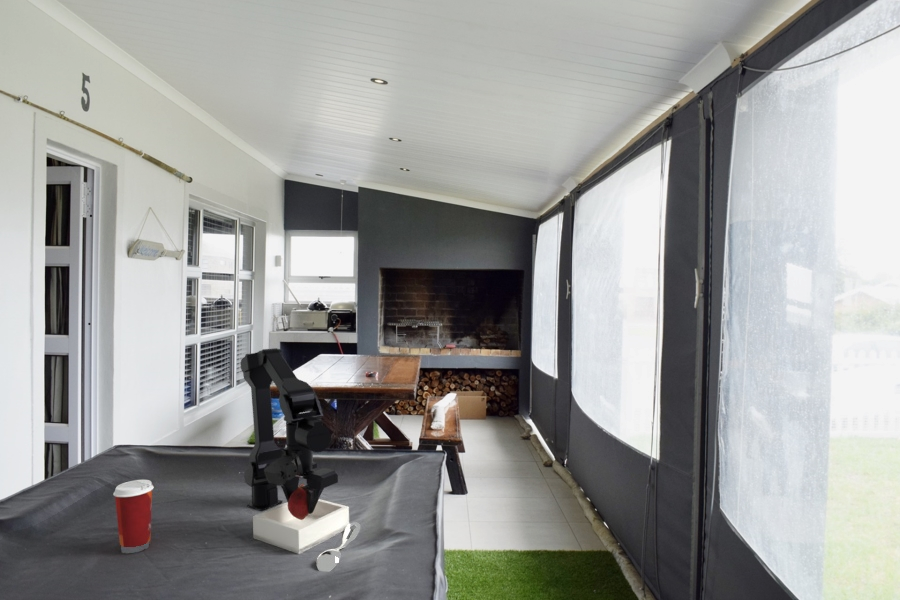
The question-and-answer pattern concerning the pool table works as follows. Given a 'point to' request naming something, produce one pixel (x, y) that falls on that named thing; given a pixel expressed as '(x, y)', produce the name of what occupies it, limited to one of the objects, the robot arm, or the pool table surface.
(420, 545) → the pool table surface
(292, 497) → the onion
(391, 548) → the pool table surface
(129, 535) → the paper cup
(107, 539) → the pool table surface
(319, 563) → the silver metal spoon
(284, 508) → the bin
